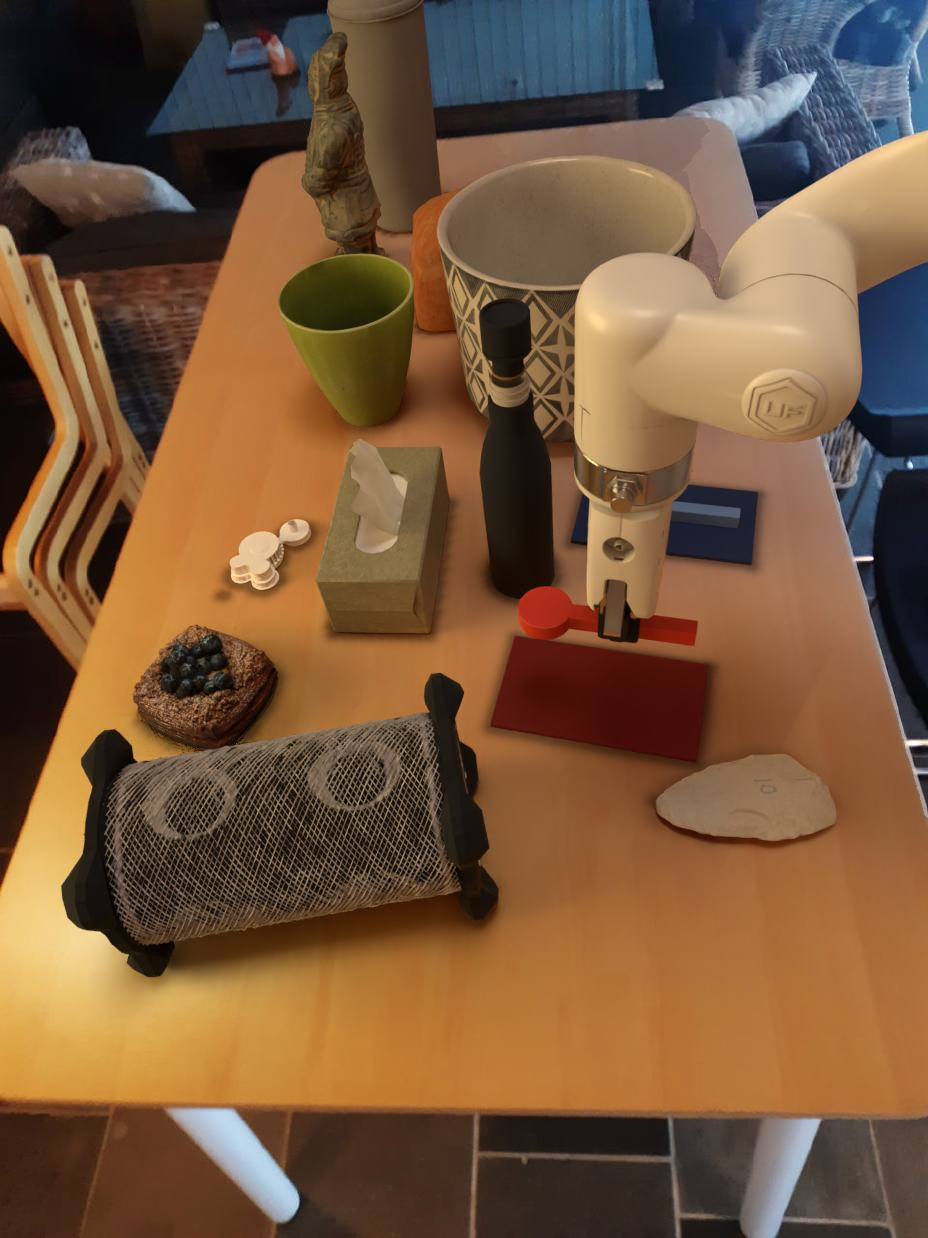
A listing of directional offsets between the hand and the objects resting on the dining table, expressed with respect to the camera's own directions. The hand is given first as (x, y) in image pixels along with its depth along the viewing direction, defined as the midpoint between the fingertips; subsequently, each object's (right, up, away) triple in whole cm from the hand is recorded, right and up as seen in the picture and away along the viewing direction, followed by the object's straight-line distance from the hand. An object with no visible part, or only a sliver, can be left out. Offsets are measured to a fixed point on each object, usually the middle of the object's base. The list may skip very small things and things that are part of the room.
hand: (620, 626), depth 71 cm
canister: (-21, +63, +65) cm, 93 cm away
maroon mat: (0, -6, +9) cm, 11 cm away
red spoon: (-1, 0, +1) cm, 1 cm away
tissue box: (-20, +6, +21) cm, 30 cm away
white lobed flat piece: (-33, +7, +23) cm, 41 cm away
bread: (-3, +45, +49) cm, 66 cm away
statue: (-28, +51, +57) cm, 81 cm away
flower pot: (-24, +26, +37) cm, 52 cm away
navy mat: (+8, +11, +21) cm, 25 cm away
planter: (0, +28, +36) cm, 45 cm away
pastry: (-37, -7, +13) cm, 40 cm away
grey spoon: (+9, +11, +21) cm, 25 cm away
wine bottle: (-7, +5, +19) cm, 20 cm away
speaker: (-24, -20, +2) cm, 31 cm away
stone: (+10, -15, +1) cm, 18 cm away
